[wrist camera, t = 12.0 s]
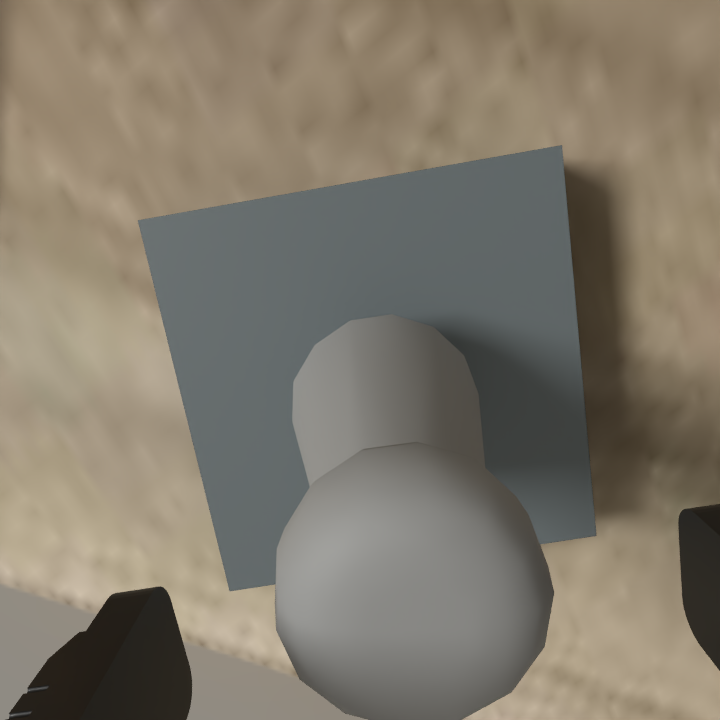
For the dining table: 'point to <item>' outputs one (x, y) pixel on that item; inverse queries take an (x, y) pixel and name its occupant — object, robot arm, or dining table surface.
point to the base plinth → (370, 299)
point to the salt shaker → (404, 535)
